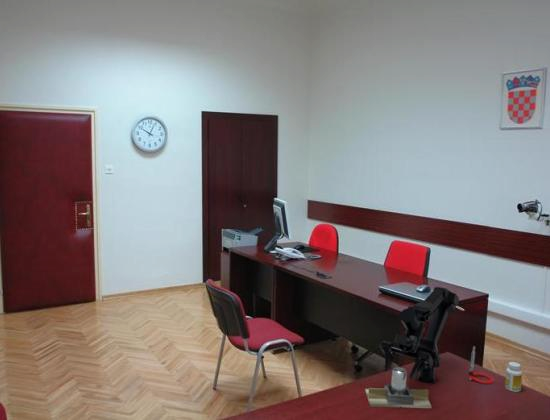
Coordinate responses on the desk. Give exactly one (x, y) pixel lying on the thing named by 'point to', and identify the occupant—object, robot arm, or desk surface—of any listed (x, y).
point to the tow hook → (472, 373)
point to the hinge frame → (398, 398)
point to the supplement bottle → (513, 377)
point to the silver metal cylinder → (398, 381)
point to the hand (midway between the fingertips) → (397, 375)
